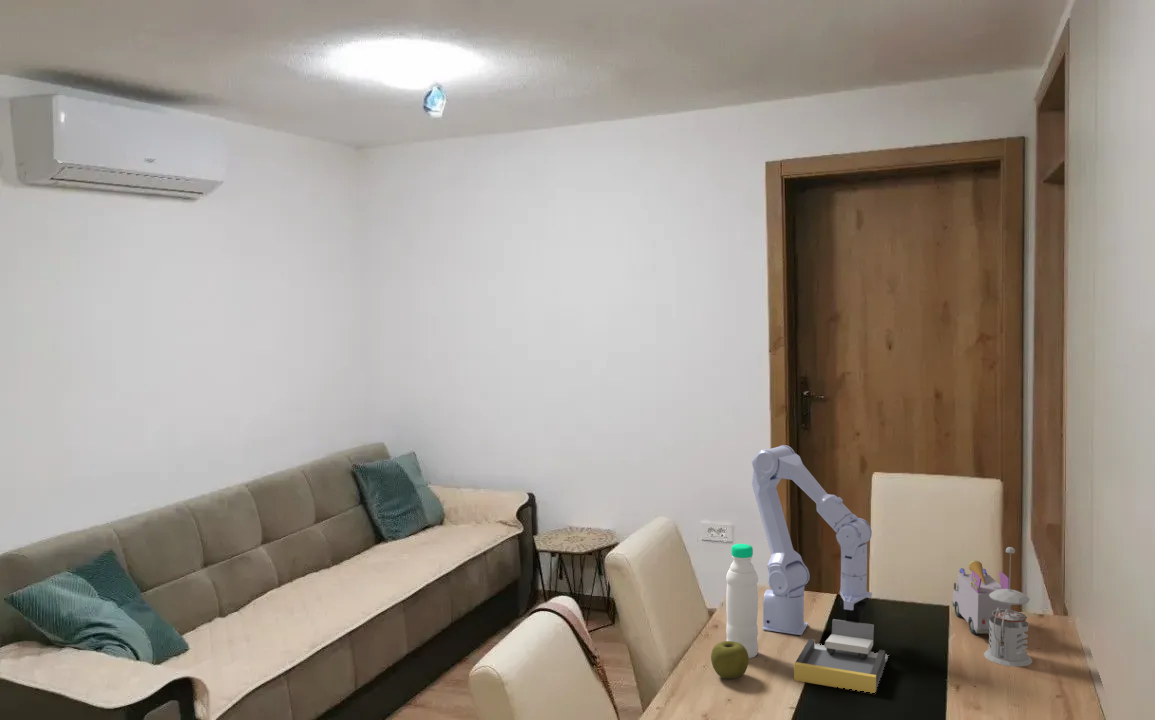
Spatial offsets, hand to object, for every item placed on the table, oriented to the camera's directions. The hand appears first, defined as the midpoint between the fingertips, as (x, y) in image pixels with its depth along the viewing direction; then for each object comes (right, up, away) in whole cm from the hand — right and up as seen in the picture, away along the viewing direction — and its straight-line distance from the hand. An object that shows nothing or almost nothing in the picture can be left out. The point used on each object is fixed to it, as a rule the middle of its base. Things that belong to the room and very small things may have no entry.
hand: (853, 630), depth 212 cm
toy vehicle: (+34, -3, +12) cm, 36 cm away
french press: (+32, -4, -8) cm, 33 cm away
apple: (-31, -5, -16) cm, 35 cm away
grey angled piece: (-3, -3, -6) cm, 8 cm away
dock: (-6, -5, -11) cm, 13 cm away
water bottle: (-26, -4, -4) cm, 27 cm away
